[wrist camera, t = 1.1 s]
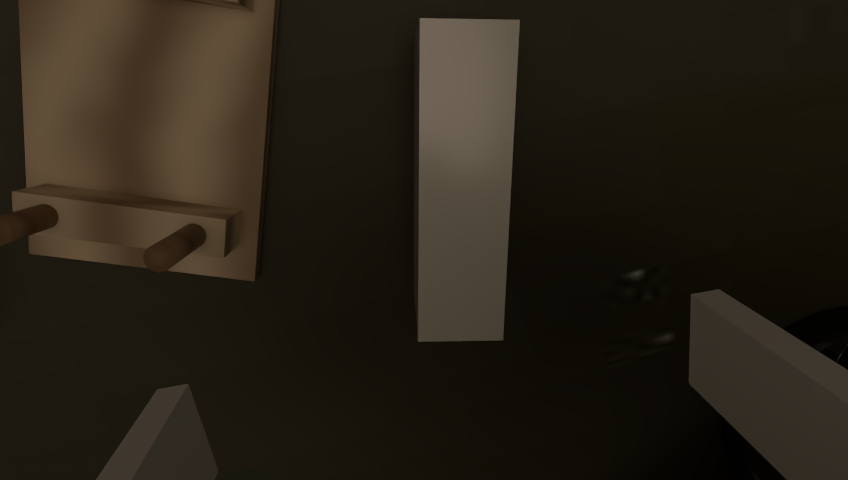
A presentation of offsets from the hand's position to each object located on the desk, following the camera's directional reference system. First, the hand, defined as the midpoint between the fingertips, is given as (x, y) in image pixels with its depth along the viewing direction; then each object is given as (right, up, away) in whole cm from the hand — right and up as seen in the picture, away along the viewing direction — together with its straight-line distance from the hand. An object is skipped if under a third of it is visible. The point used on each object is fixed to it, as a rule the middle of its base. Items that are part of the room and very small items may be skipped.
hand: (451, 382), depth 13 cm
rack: (-15, +11, +14) cm, 23 cm away
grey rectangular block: (+1, +8, +16) cm, 17 cm away
